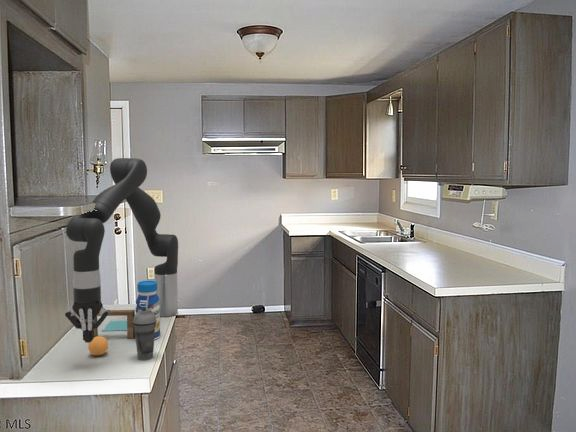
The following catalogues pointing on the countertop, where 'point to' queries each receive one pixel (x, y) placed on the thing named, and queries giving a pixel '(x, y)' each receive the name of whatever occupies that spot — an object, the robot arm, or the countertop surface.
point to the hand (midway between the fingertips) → (88, 341)
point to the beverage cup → (144, 332)
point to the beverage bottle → (149, 301)
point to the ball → (98, 345)
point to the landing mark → (116, 326)
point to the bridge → (130, 317)
